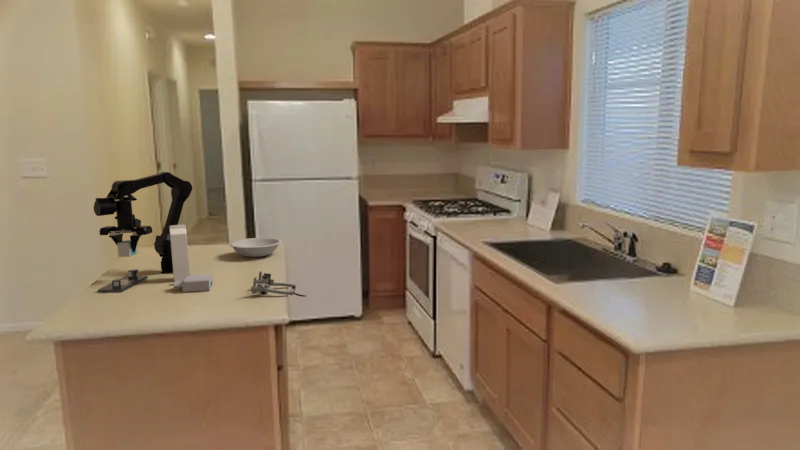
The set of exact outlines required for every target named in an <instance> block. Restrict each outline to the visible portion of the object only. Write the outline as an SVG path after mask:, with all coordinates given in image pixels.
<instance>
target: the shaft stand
mask: <svg viewBox="0 0 800 450" xmlns="http://www.w3.org/2000/svg"><path fill="white" fill-rule="evenodd" d="M138 274H139V268H133V269H129V270H127V272H126V275H124V276H122V277H121V278H119V277H118V278H117V277H116V278H114V279H112V280H111V283H109V284H106V285H105V286H103V287H101V288H98V289H97V293H123V292H125V291H127V290H129V289H131V288H132V287H134V286H136V285H138V284H140V283H142V282H144V281H145V280H147V279H148V278H149V276H148V275H138Z"/></svg>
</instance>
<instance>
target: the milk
mask: <svg viewBox="0 0 800 450" xmlns="http://www.w3.org/2000/svg"><path fill="white" fill-rule="evenodd" d="M186 227H187V226H186V224H178V225H171V226H170V241H171V252H172V264H173V273H172V274H173V283H174V282H175V281H182V280H183V279H184V278H185V277H186V276H188V275H191V270H190V259H189V247H188V235H187V228H186Z"/></svg>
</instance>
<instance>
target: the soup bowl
mask: <svg viewBox="0 0 800 450" xmlns="http://www.w3.org/2000/svg"><path fill="white" fill-rule="evenodd" d="M282 242H283V240H281V239H279V238H275V237H252V238H251V237H250V238H242V239H236V240H233V241H231V242H229V244H228V245H229V247H231V248H233V250H234V251H235V252H236V253H237V254H238V255H241V256H243V257H249V258H257V257H265V256H268V255H271V254H272V253H274V252H275V251H276V250H277V248H278V246H279V245H280V244H282Z"/></svg>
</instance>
